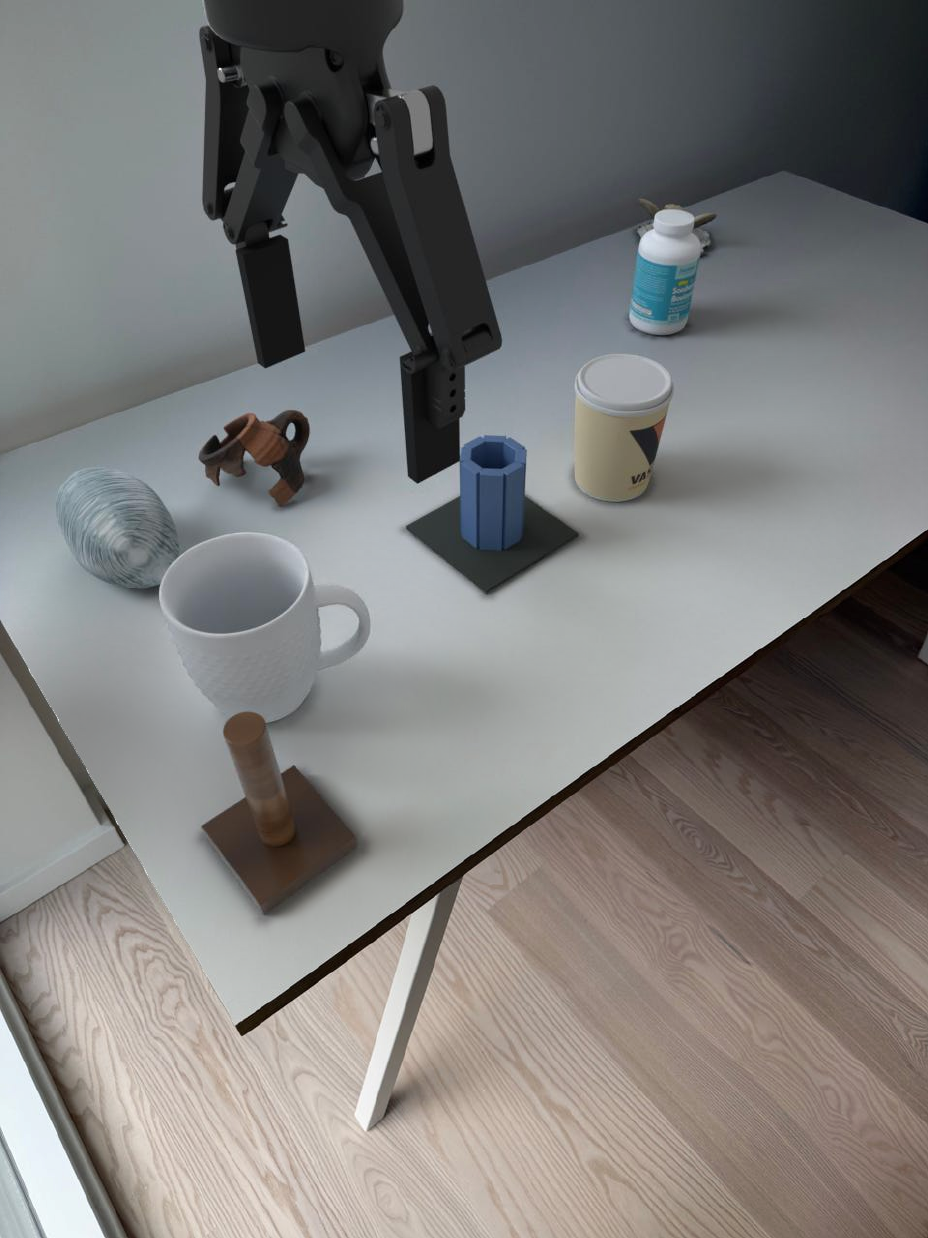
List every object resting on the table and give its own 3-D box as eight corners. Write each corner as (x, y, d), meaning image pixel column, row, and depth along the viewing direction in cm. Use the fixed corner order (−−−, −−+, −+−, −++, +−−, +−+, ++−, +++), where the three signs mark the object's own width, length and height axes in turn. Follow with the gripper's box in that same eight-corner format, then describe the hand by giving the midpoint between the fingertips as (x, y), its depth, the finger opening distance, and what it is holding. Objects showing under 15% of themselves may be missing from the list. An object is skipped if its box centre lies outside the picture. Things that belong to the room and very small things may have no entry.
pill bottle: (674, 343, 111) (693, 235, 101) (619, 328, 114) (632, 222, 104) (695, 317, 116) (715, 211, 106) (641, 303, 118) (656, 199, 108)
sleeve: (449, 527, 87) (446, 453, 81) (494, 501, 90) (495, 427, 84) (489, 559, 84) (490, 484, 78) (535, 531, 87) (540, 456, 80)
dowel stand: (205, 836, 65) (154, 722, 55) (297, 775, 69) (265, 657, 58) (263, 915, 61) (220, 808, 51) (358, 846, 65) (335, 732, 54)
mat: (405, 528, 88) (405, 525, 88) (496, 478, 93) (496, 475, 93) (486, 594, 82) (486, 590, 82) (578, 536, 87) (578, 533, 87)
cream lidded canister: (641, 517, 89) (659, 415, 80) (553, 493, 92) (561, 391, 83) (667, 464, 95) (686, 363, 86) (584, 443, 97) (594, 343, 88)
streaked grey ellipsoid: (71, 536, 89) (4, 501, 80) (137, 468, 90) (79, 424, 80) (155, 624, 85) (96, 598, 76) (224, 552, 86) (174, 517, 76)
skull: (730, 247, 129) (730, 190, 122) (676, 283, 128) (673, 228, 121) (675, 217, 136) (672, 161, 129) (623, 250, 135) (617, 197, 127)
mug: (365, 623, 79) (350, 511, 70) (389, 720, 72) (375, 609, 63) (195, 656, 77) (155, 544, 67) (202, 760, 70) (158, 650, 60)
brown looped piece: (266, 529, 89) (212, 466, 84) (229, 520, 96) (177, 462, 92) (346, 449, 93) (297, 385, 88) (304, 446, 100) (257, 387, 96)
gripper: (45, -132, 36) (174, 341, 52) (435, -20, 23) (450, 564, 39) (207, -151, 40) (283, 299, 55) (627, -63, 27) (571, 491, 42)
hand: (352, 409), depth 47 cm, fingers open, 13 cm apart
